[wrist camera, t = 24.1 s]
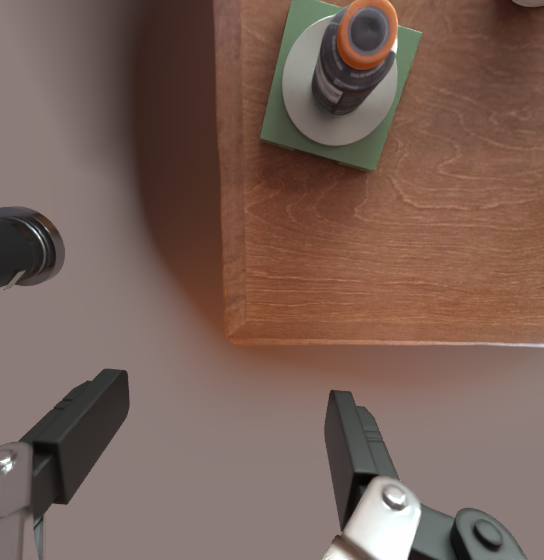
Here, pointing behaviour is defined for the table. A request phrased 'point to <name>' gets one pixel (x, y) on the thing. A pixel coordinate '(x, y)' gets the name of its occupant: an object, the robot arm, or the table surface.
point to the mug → (529, 3)
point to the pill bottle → (354, 55)
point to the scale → (304, 110)
